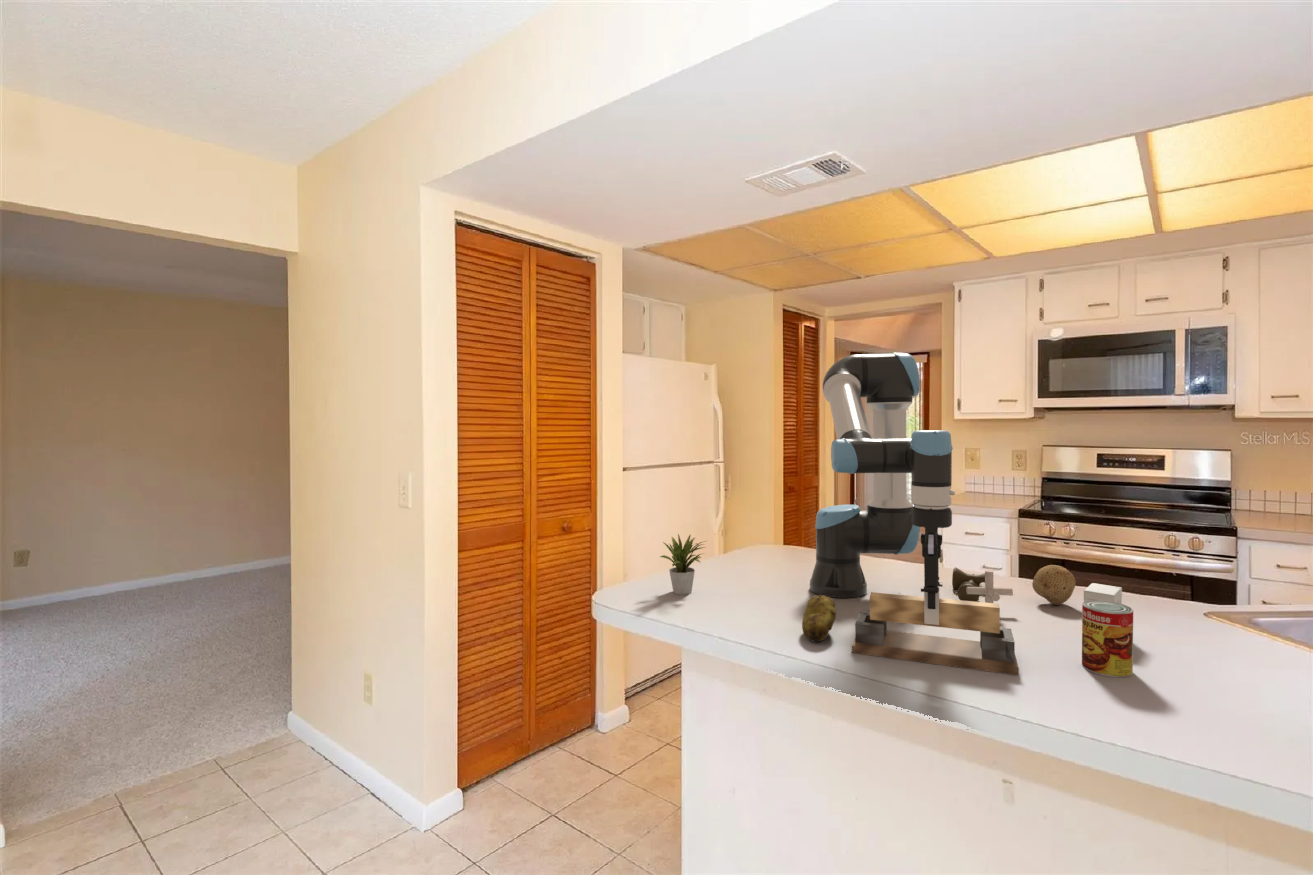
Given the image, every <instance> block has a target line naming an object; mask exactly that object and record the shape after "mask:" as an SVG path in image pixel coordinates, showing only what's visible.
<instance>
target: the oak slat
mask: <svg viewBox="0 0 1313 875" xmlns="http://www.w3.org/2000/svg"><path fill="white" fill-rule="evenodd" d="M1000 611H1001V609H1000V604H999V603H995V602H993V603H985V601H984V602H983V601H977V602H974V601H963V600H959V599H950V598H941V597H939V625H933V624H924V596H919V595H917V596H916V595H905V594H896V593H895V594H894V593H883V592H873V591H871V592H870V595H869V613H870V620H879V621H887V622H889V623H900V624H909V625H918V626H928V627H933V628H946V629H954V630H961V631H962V630H963V631H973V632H980V631H981V632H990V633H999V634H1000V628H1001V624H1000V623H1001V619H1000V618H1001V616H1000V615H1001V614H1000Z"/></svg>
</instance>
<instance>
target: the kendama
mask: <svg viewBox="0 0 1313 875" xmlns="http://www.w3.org/2000/svg"><path fill="white" fill-rule="evenodd" d="M951 576H952V579H951V584H952V589H953V590H957V592H956V594H957V598H958V600H963V601H974V602H979V601H980V600H979V599H980V596H981V595H979V594H967V592H966V587H979V584H980V583H982V582H984V583H985V572H984V573H981V574H975V573H971V574H970V573H966V572H965V571H962V569H959V568H958V567H954V568H953V570H952V575H951Z"/></svg>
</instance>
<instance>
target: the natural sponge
mask: <svg viewBox="0 0 1313 875" xmlns="http://www.w3.org/2000/svg"><path fill="white" fill-rule="evenodd" d="M1031 583H1032V584H1031V585H1032V588H1033V591H1034V592H1035V593H1036V594H1037V595H1039V596H1040V597H1041V598H1044V599H1045V600H1046V601H1048V603H1051V605H1055V606H1060V605H1062V604H1064V603H1066V602H1067V601H1068V600H1069V599H1070V598H1071V597H1072V595H1073V592H1074V590H1075V588H1076V578H1075V576H1074V575H1073V573H1072V572H1071V571H1070V570H1069V569H1067V568H1065V567H1064V566H1061V565H1056V564H1049V565H1046V566H1043V567H1041V568H1039V569H1038V570H1037V572H1036V573H1035V575H1034V577H1033V580H1032V582H1031Z"/></svg>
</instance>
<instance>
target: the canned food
mask: <svg viewBox="0 0 1313 875" xmlns="http://www.w3.org/2000/svg"><path fill="white" fill-rule="evenodd" d="M1081 604H1082V605H1081V606H1082V607H1081V609H1082V610H1081V611H1082V612H1081V622H1082V623H1081V666H1082V667H1083V668H1084V669H1086V670H1087V671H1089V672H1092V673H1094V674H1097V675H1100V676H1104V677H1111V678H1112V677H1113V678H1128V677H1130V676H1133V674H1134V673H1133V672H1134V671H1133V670H1134V669H1133V667H1134V609H1133V607H1132V606H1129V605H1126V604H1123V603H1122V604H1120V603H1115V602H1110V601H1101V600H1090V601H1085V602H1084V601H1083V602H1082V603H1081Z"/></svg>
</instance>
